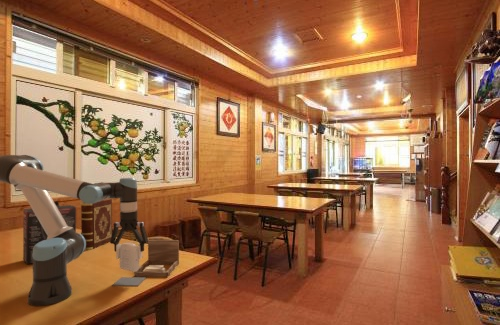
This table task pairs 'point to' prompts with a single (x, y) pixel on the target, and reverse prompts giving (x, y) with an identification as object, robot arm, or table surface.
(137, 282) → the mat
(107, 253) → the table surface
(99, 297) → the table surface
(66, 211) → the headset box
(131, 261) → the photo printer
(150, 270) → the offcut stack
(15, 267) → the table surface
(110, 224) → the decorative book
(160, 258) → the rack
